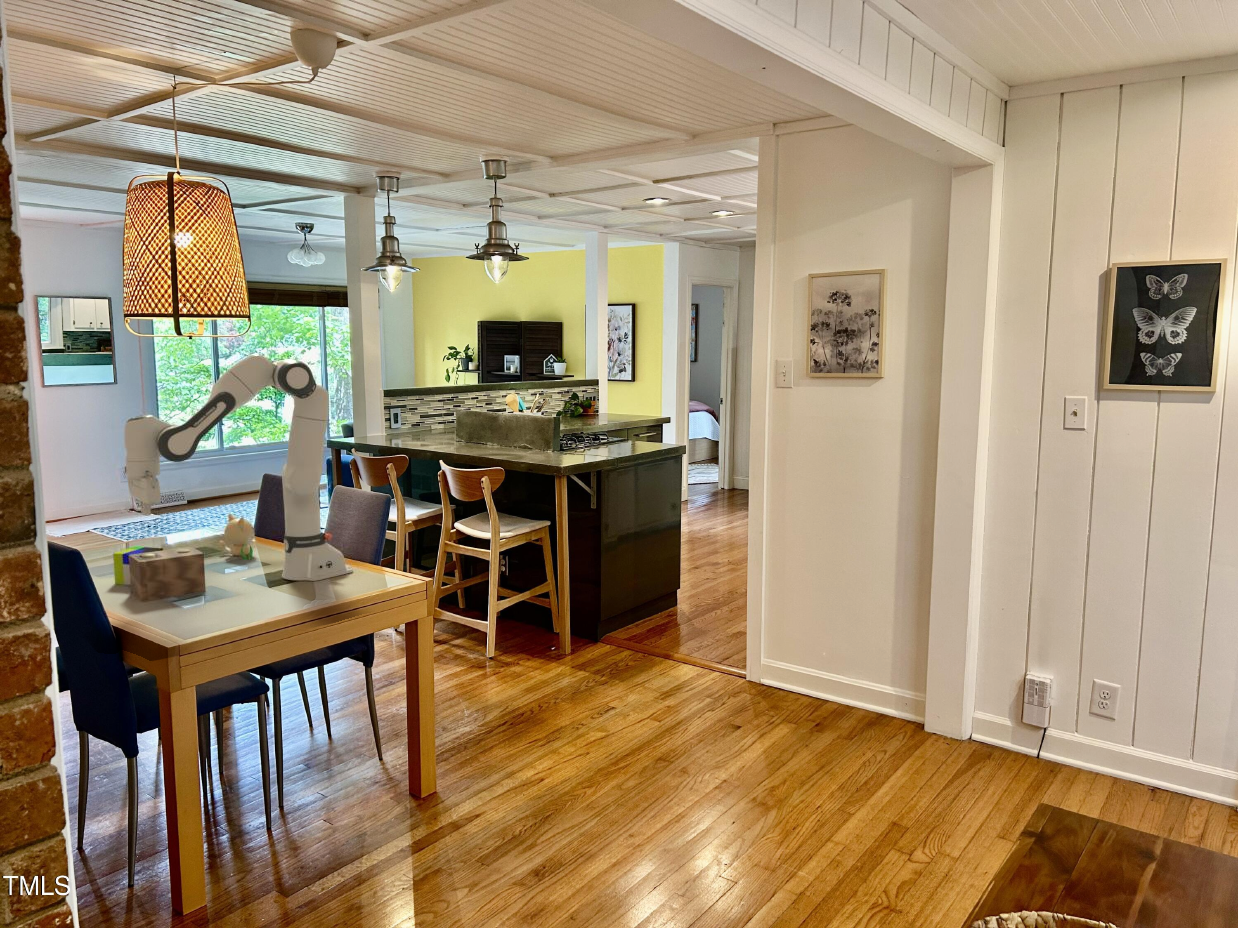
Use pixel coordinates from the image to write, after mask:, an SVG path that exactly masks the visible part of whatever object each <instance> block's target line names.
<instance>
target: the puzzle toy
mask: <svg viewBox="0 0 1238 928" xmlns="http://www.w3.org/2000/svg"><path fill="white" fill-rule="evenodd" d="M162 550H164V548H163V547H162V548H161V547H149V546H148V547H147V546H133V547H131V548H127V549H124V550H120V551H116V552H114V553H113V555H112V557H113V571H114V572H113V573H114V584H116V585H127V586H131V585H130V569H129V555H132V554H140V553H147V552H155V551H162Z"/></svg>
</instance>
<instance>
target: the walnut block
mask: <svg viewBox="0 0 1238 928" xmlns="http://www.w3.org/2000/svg"><path fill="white" fill-rule="evenodd" d="M145 554H155V557H151V558H144V559H142V555H145ZM204 555H205V554H204V552H202V551H200V550H198V549H196V548H195V547H193V546H187V547H180V548H171V549H163V550H162V551H155V552H147V553H140V554H132V555H129V569H130V585H129V586H130V594H131V595H132V596H134V597H135V598H136V599H137V600H138V601H140V603H141V602H142V603H143V602H148V601H155V600H160V599H167V598H172V597H173V598H174V597H178V596H179V597H180V596H183V595H189V594H196V593H202V592H203V593H204V592H206V590H207V589H206V572H205V570H206V569H205V556H204Z"/></svg>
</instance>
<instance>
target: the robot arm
mask: <svg viewBox="0 0 1238 928" xmlns="http://www.w3.org/2000/svg"><path fill="white" fill-rule="evenodd" d="M268 387H272V388H273V389H275V390H277V391H280V392H282V393H283V394H290V395H291V396H292V399H293V404H294V407H293V412H292V417H291V423H290V430H289V437H288V445H287V446H288V447H287V458H286V462H285V464H284V465H283V468H282V469H281V479H282V480H281V482H282V496H283V509H284V529H285V530H284V531H285V534H284V536H283V548H284V552H285V555H284V565H283V569H282V574H281V578H282V579H285V580H288V581H289V580H290V581H311V582H312V581H313V582H315V581H320V580H324V579H329V578H334V577H337V576H342V575H347V574H350V573H353V568H352V567H351V566H350V565H349V564H346V560H345V557H344V556H345V555H344V554H343V553H342V551H340V550H339V549H337V548H335V547H334V546H333V545H332V544H329V543H328V542H327V541H331V539H332V534H331V533H324V532H323V531H321V530H322V529H321V527H322V526H321V507H320V497H319V486H320V485H321V482H322V481H321V480H322V472H323V463H324V461H323V460H324V452H325V441H326V434H327V427H328V421H329V416H330V415H329V414H330V394H329V392H328V390H327V389H326V388H325V387H323V386H322V385H319V384H317V383H316V380H315V378H314V375H313V372H312V370H311V368H310V367H309V366H308V365H307V364H306V363H305V362H303V361H300V360H297V359H293V358H283V359H282V358H281V359H277V360H272V361H271V360H269V359H268V358H267V357H266V356H264V355H262V354H259V353H252V354H250V355H247V356H246V357H245V358H243V359H240V361H238V362H236V363H235V364H234V365H232V366H231V367H230V368H229V369H228V370H227V371H225V372H224V373H223V374H222V375H221V376H220V377H219V378H218V379H217V380H216V382H215V383H214V384H213V386H212V388H211V391H210V395H209V397H208V400H207V402H205V403H204V405H203V406H202V407H201V408H200V409H199V410H198V411H197V412H196V413H194V414H193V415H192V416H191V417H190V418H189V419H188V420H187V421H185V422H183V424H180V425H179V424H178V425H177V424H174V423H170V422H167V421H164V420H161V419H160V418H158V417H156V416H155V415H153V414H142V415H137V416H134V417H130V418H129V419H128V420H127V421H126V422H125V425H124V432H123V433H124V438H123V439H124V448H125V449H126V457H125V466H124V473H125V474H126V477H127V484H128V485H127V486H128V491H129V493H130V497H132V498H134V499H137V500H138V502H139V506H140V509H141V514H142V515H143V516H148V517H149V516H151V514H152V512H151V511H152V506H153V505H156V504H160V503H161V501H162V499H161V498H162V497H161V490H160V488H161V487H160V481H159V479H158V477H156V476H160V475H161V469H160V468H161V465H160V456H162V457H163V458H164V459H166V461H170V462H173V463H181V462H184V461H187V460H189V459H190V458H192V456H193V455H194V454H195V452H196V451H197V449H198V447H199V443H200V441H201V440H202V439H203V438H204V437H205V436H206V435H207V434H208V433H209V432H210V431H211V430H213V428H214V427H216V426H217V425H218V424H219V423H220V422H221V421H222V420H223V419H224V418H225V417H227V416H229V415H230V414H232V413H234V412H235V411H236V410H237V411H238V409H240V408H241V407H243V406H244V405H246V404H248V403H249V402H250V401H251V400H253V399H254V398H255V396H257V395H258V394H259V393H260V392H261V391H263V390H264V389H266V388H268Z"/></svg>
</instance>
